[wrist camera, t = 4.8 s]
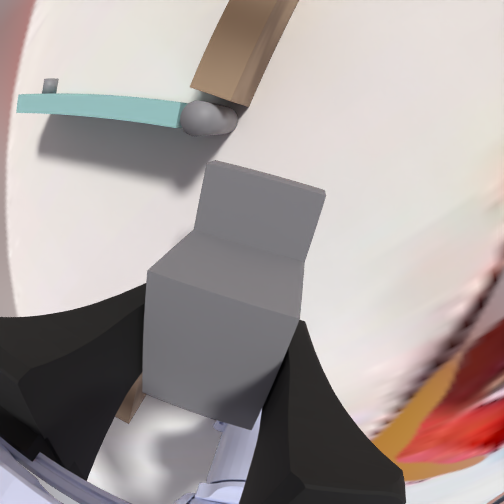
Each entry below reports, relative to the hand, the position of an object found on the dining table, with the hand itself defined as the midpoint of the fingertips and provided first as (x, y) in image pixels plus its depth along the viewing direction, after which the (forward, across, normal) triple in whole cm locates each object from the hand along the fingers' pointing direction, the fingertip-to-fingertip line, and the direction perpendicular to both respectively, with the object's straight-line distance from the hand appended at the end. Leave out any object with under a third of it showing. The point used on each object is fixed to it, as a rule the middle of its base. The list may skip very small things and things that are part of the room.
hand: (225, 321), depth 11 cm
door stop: (+2, 0, -1) cm, 2 cm away
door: (+8, +10, -7) cm, 15 cm away
